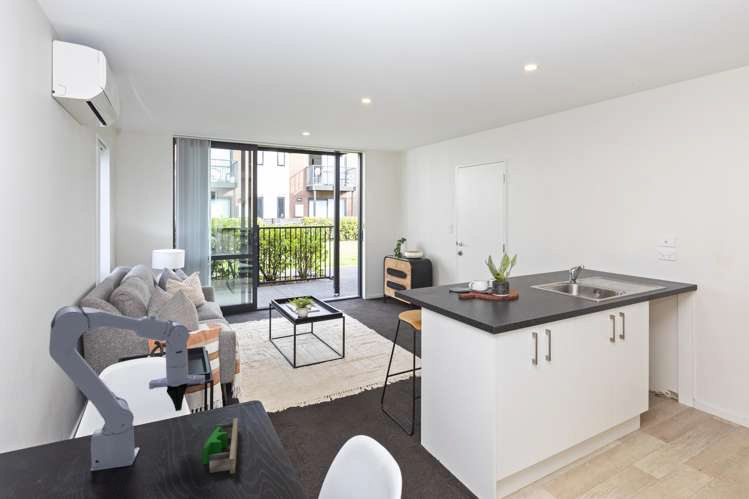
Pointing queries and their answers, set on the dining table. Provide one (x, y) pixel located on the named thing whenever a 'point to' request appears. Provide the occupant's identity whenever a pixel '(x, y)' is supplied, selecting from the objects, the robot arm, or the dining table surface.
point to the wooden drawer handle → (228, 458)
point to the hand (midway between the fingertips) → (178, 409)
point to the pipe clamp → (214, 444)
